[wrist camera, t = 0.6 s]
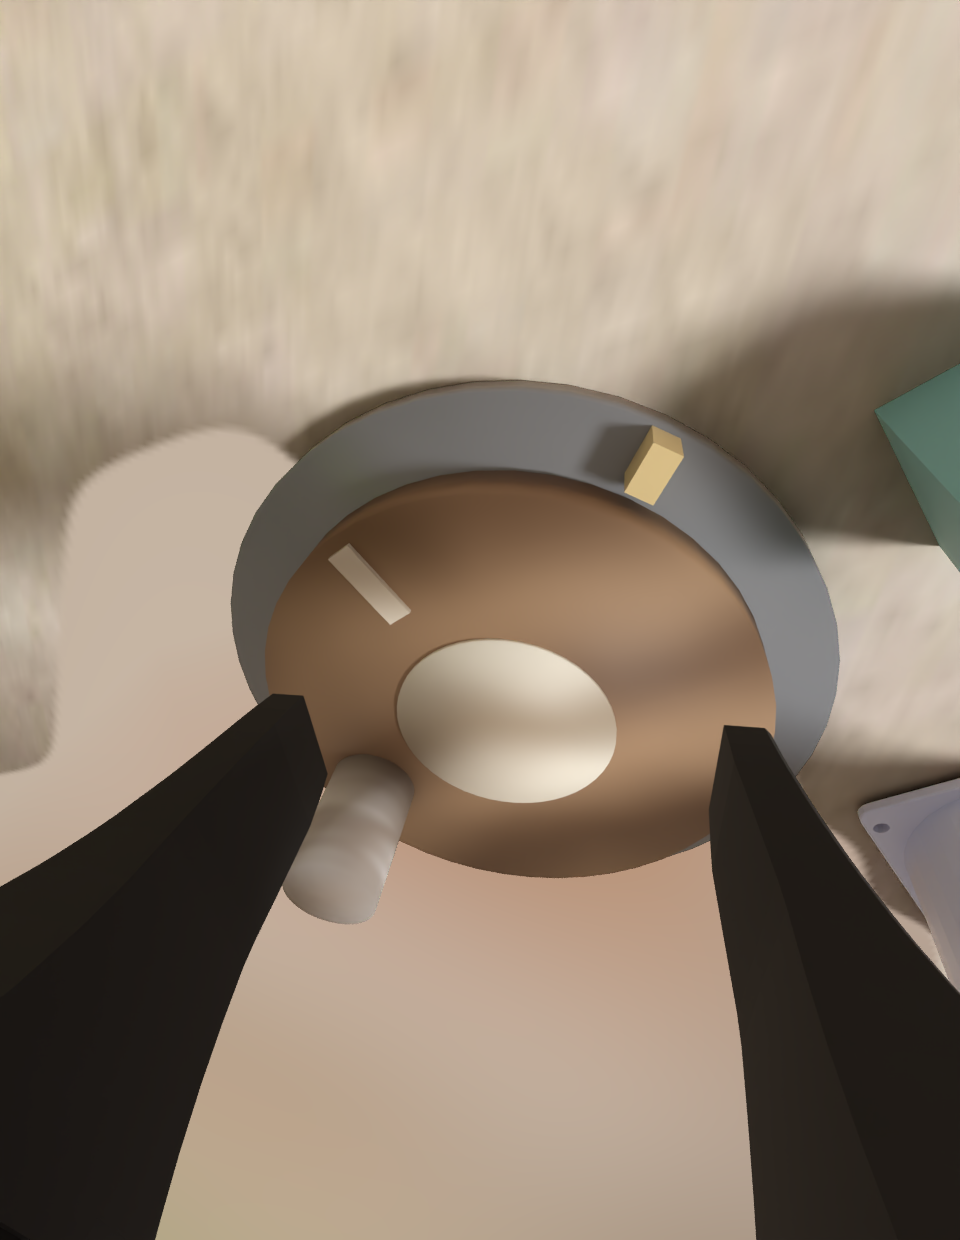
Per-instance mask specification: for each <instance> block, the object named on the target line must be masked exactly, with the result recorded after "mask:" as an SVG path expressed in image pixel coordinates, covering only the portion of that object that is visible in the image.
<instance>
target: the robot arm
mask: <svg viewBox="0 0 960 1240" xmlns="http://www.w3.org/2000/svg"><path fill="white" fill-rule="evenodd" d="M327 775H328V773H327V770H326V766H325V763H324V760H323V757H322V754H321V750H320V747H319V744H318V741H317V737H316V734H315V731H314V728H313V724H312V721H311V718H310V715H309V712H308V708H307V705H306V702H305V699H304V696H302V695H287V694H271V695H270V696H269V697H267V698H266V699H265V700H263V701H262V702H261V703H260V704H258V705H257V706H256V707H255V708H253V709H252V710H251V711H250V712H248V713H247V714H246V715H244V716H243V717H242V718H241V719H240V720H238V721H237V722H236V723H235V724H233V725H232V726H231V727H230V728H228V729H227V730H226V731H225V732H224V733H222V734H221V735H220V736H219V737H217V738H216V739H215V740H214V741H212V742H211V743H210V744H209V745H207V746H206V747H205V748H204V749H203V750H201V751H200V752H199V753H198V754H196V755H195V756H194V757H193V758H191V759H190V760H189V761H187V762H186V763H185V764H184V765H182V766H181V767H180V768H179V769H177V770H176V771H175V772H173V773H172V774H171V775H170V776H168V777H167V778H166V779H164V780H163V781H161V782H160V783H159V784H157V785H156V786H155V787H154V788H152V789H151V790H149V791H148V792H147V793H145V794H144V795H142V796H141V797H140V798H139V799H137V800H136V801H134V802H133V803H132V804H130V805H129V806H128V807H126V808H125V809H123V810H122V811H121V812H119V813H118V814H117V815H115V816H114V817H113V818H111V819H109V820H108V821H107V822H105V823H104V824H102V825H101V826H99V827H98V828H96V829H95V830H93V831H92V832H90V833H89V834H87V835H86V836H84V837H83V838H81V839H79V840H78V841H76V842H75V843H73V844H72V845H70V846H68V847H67V848H65V849H64V850H62V851H61V852H59V853H57V854H56V855H54V856H53V857H51V858H49V859H48V860H46V861H44V862H43V863H41V864H40V865H38V866H36V867H34V868H32V869H31V870H29V871H27V872H26V873H24V874H22V875H20V876H19V877H17V878H15V879H13V880H11V881H10V882H8V883H6V884H4V885H3V886H1V887H0V1240H155V1238H156V1234H157V1230H158V1227H159V1223H160V1219H161V1216H162V1212H163V1209H164V1205H165V1202H166V1198H167V1195H168V1191H169V1187H170V1184H171V1180H172V1177H173V1173H174V1170H175V1167H176V1163H177V1160H178V1156H179V1153H180V1149H181V1146H182V1143H183V1140H184V1137H185V1134H186V1131H187V1127H188V1124H189V1121H190V1118H191V1115H192V1111H193V1108H194V1105H195V1102H196V1099H197V1096H198V1092H199V1089H200V1086H201V1083H202V1080H203V1077H204V1074H205V1072H206V1068H207V1066H208V1063H209V1060H210V1057H211V1054H212V1051H213V1048H214V1046H215V1043H216V1040H217V1037H218V1034H219V1031H220V1028H221V1025H222V1023H223V1020H224V1017H225V1015H226V1012H227V1009H228V1006H229V1004H230V1001H231V999H232V996H233V993H234V991H235V988H236V985H237V983H238V980H239V977H240V974H241V972H242V969H243V966H244V964H245V962H246V960H247V958H248V955H249V953H250V951H251V948H252V946H253V944H254V942H255V940H256V937H257V935H258V933H259V931H260V929H261V927H262V925H263V923H264V921H265V919H266V917H267V915H268V913H269V911H270V909H271V907H272V905H273V903H274V901H275V899H276V896H277V895H278V892H279V890H280V888H281V886H282V884H283V882H284V880H285V878H286V876H287V874H288V872H289V870H290V868H291V866H292V864H293V862H294V860H295V858H296V855H297V853H298V851H299V849H300V847H301V845H302V843H303V841H304V839H305V837H306V834H307V832H308V830H309V828H310V826H311V823H312V820H313V817H314V814H315V812H316V809H317V806H318V803H319V800H320V797H321V794H322V790H323V787H324V784H325V781H326V778H327ZM857 813H858V816H859V819H860V822H861V824H862V825H863V827H864V828H865V830H866V831H867V833H868V834H869V836H870V837H871V839H872V840H873V842H874V843H875V844H876V846H877V847H878V849H879V850H880V852H881V853H882V855H883V856H884V858H885V859H886V861H887V862H888V863H889V865H890V866H891V868H892V869H893V871H894V872H895V874H896V875H897V877H898V878H899V880H900V881H901V882H902V884H903V885H904V887H905V888H906V890H907V891H908V893H909V894H910V896H911V897H912V899H913V900H914V901H915V903H916V904H917V906H918V907H919V909H920V910H921V912H922V913H923V915H924V916H925V919H926V921H927V924H928V926H929V929H930V932H931V934H932V937H933V939H934V942H935V945H936V947H937V950H938V953H939V955H940V958H941V960H942V963H943V966H944V968H945V971H946V973H947V976H948V979H949V981H950V982H949V981H948V979H947V978H946V977H945V976H944V975H943V974H942V973H941V971H940V970H939V969H938V968H937V967H936V966H935V965H934V963H933V962H932V961H931V960H930V959H929V958H928V956H927V955H926V954H925V953H924V952H923V951H922V950H921V948H920V947H919V946H918V945H917V944H916V943H915V941H914V940H913V939H912V938H911V936H910V935H909V934H908V933H907V932H906V931H905V929H904V928H903V927H902V926H901V924H900V923H899V922H898V921H897V919H896V918H895V917H894V916H893V914H892V913H891V912H890V911H889V909H888V908H887V907H886V906H885V904H884V903H883V902H882V900H881V899H880V898H879V896H878V895H877V894H876V893H875V891H874V890H873V889H872V887H871V886H870V885H869V883H868V882H867V881H866V880H865V878H864V877H863V876H862V874H861V873H860V871H859V870H858V869H857V867H856V866H855V865H854V863H853V862H852V861H851V859H850V858H849V856H848V855H847V854H846V852H845V851H844V849H843V848H842V846H841V845H840V844H839V842H838V841H837V839H836V838H835V836H834V835H833V833H832V832H831V831H830V829H829V828H828V826H827V825H826V823H825V822H824V820H823V819H822V818H821V816H820V815H819V813H818V811H817V810H816V808H815V807H814V805H813V804H812V802H811V801H810V799H809V798H808V796H807V794H806V793H805V791H804V790H803V788H802V786H801V785H800V783H799V782H798V780H797V778H796V777H795V775H794V774H793V772H792V770H791V769H790V767H789V765H788V763H787V762H786V760H785V758H784V757H783V755H782V753H781V751H780V750H779V748H778V746H777V744H776V742H775V741H774V739H773V737H772V735H771V734H770V733H769V732H768V731H767V730H766V729H765V728H760V727H745V726H731V725H724V727H723V732H722V738H721V743H720V749H719V755H718V760H717V766H716V771H715V777H714V783H713V788H712V794H711V799H710V805H709V826H710V843H711V859H712V872H713V878H714V884H715V890H716V896H717V901H718V907H719V913H720V919H721V925H722V930H723V936H724V941H725V947H726V953H727V959H728V964H729V970H730V976H731V981H732V987H733V993H734V998H735V1004H736V1009H737V1015H738V1023H739V1030H740V1038H741V1045H742V1056H743V1067H744V1079H745V1090H746V1103H747V1115H748V1127H749V1140H750V1155H751V1168H752V1182H753V1194H754V1210H755V1226H756V1240H960V778H958V779H954V780H951V781H947V782H943V783H940V784H936V785H932V786H929V787H925V788H921V789H918V790H914V791H910V792H907V793H903V794H900V795H896V796H892V797H889V798H885V799H881V800H878V801H874V802H870V803H867V804H865V805H862V806H861V807H860V808H859V809H858V812H857Z"/></svg>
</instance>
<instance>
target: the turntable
mask: <svg viewBox="0 0 960 1240" xmlns="http://www.w3.org/2000/svg"><path fill="white" fill-rule="evenodd" d="M265 671H266V680H267V685H268V690H269V695H271V694H287V695H302V696H304V699H305V702H306V705H307V708H308V712H309V715H310V718H311V721H312V724H313V728H314V731H315V734H316V737H317V741H318V744H319V747H320V750H321V754H322V757H323V760H324V763H325V766H326V770H327V773H328V775H327V778H326V781H325V784H324V787H325V788H326V789H325V791H324V794H323V796H322V798H321V800H320V802H319V804H318V806H317V809H316V812H315V814H314V817H313V820H312V823H311V826H310V828H309V830H308V832H307V834H306V837H305V839H304V841H303V843H302V845H301V847H300V849H299V851H298V853H297V855H296V858H295V860H294V862H293V864H292V866H291V868H290V870H289V872H288V874H287V876H286V878H285V880H284V882H283V884H282V886H283V890H284V892H285V894H286V895H287V897H288V898H289V899H290V900H291V901H292V902H293V903H294V904H295V905H296V906H297V907H299V908H300V909H302V910H303V911H305V912H306V913H308V914H310V915H312V916H314V917H317V918H319V919H322V920H326V921H329V922H334V923H339V924H358V923H362V922H365V921H367V920H369V919H370V918H371V917H372V916H373V915H374V913H375V911H376V908H377V904H378V902H379V899H380V896H381V893H382V890H383V887H384V883H385V881H386V877H387V875H388V872H389V868H390V866H391V863H392V860H393V857H394V854H395V851H396V848H397V845H398V842H399V841H401V842H403V843H406V844H408V845H410V846H412V847H415V848H417V849H419V850H421V851H423V852H426V853H428V854H431V855H434V856H437V857H440V858H442V859H445V860H448V861H451V862H454V863H458V864H462V865H465V866H469V867H473V868H476V869H481V870H486V871H491V872H497V873H502V874H509V875H518V876H526V877H546V878H568V877H586V876H594V875H602V874H610V873H615V872H619V871H623V870H628V869H633V868H636V867H640V866H642V865H646V864H649V863H652V862H655V861H658V860H661V859H664V858H666V857H668V856H670V855H672V854H675V853H677V852H679V851H681V850H684V849H686V848H687V847H689V846H691V845H692V844H694V843H696V842H697V841H699V840H701V839H702V838H704V837H706V836H707V835H709V834H710V826H709V805H710V799H711V794H712V788H713V783H714V777H715V771H716V766H717V760H718V755H719V749H720V743H721V738H722V732H723V727H724V725H731V726H745V727H760V728H765V729H766V730H767V731H768V732H769V733H770V734H771V735H772V737H773V739H774V734H775V721H776V701H775V694H774V687H773V681H772V675H771V672H770V668H769V664H768V660H767V657H766V653H765V649H764V646H763V642H762V639H761V636H760V634H759V631H758V628H757V625H756V622H755V619H754V616H753V614H752V613H751V611H750V609H749V607H748V605H747V603H746V602H745V600H744V598H743V596H742V594H741V592H740V590H739V589H738V588H737V586H736V585H735V584H734V582H733V581H732V580H731V578H730V577H729V576H728V575H727V573H726V572H725V571H724V569H723V568H722V567H721V566H720V564H719V563H718V562H717V561H716V560H715V559H714V558H713V557H712V556H711V555H710V554H709V553H708V552H707V551H705V550H704V549H703V548H702V547H701V546H700V545H699V544H698V543H697V542H696V541H695V540H694V539H693V538H692V537H690V536H689V535H687V534H686V533H685V532H683V531H682V530H680V529H679V528H678V527H676V526H675V525H674V524H672V523H671V522H669V521H668V520H667V519H665V518H664V517H662V516H660V515H659V514H657V513H655V512H653V511H651V510H649V509H647V508H645V507H644V506H642V505H640V504H638V503H636V502H634V501H632V500H631V499H629V498H626V497H623V496H621V495H618V494H616V493H613V492H610V491H608V490H605V489H602V488H600V487H597V486H595V485H592V484H588V483H584V482H580V481H576V480H572V479H568V478H563V477H559V476H555V475H549V474H541V473H532V472H524V471H515V470H491V471H469V472H462V473H454V474H447V475H439V476H435V477H432V478H428V479H425V480H421V481H417V482H414V483H410V484H406V485H403V486H401V487H399V488H397V489H394V490H392V491H390V492H387V493H385V494H383V495H381V496H378V497H376V498H374V499H372V500H371V501H369V502H367V503H366V504H364V505H363V506H361V507H359V508H358V509H356V510H355V511H353V512H352V513H350V514H348V515H347V516H346V517H345V518H344V519H343V520H341V521H340V522H339V523H338V524H337V525H336V526H335V527H333V528H332V529H331V530H330V531H329V532H328V533H327V534H326V535H325V536H324V537H323V538H322V540H321V541H320V542H319V543H318V544H317V546H316V547H315V548H314V549H313V551H312V552H311V553H310V554H309V556H308V557H307V558H306V559H305V561H304V562H303V563H302V564H301V566H300V567H299V568H298V570H297V571H296V572H295V573H294V575H293V576H292V577H291V578H290V580H289V581H288V583H287V585H286V587H285V589H284V590H283V592H282V594H281V596H280V598H279V599H278V601H277V603H276V606H275V609H274V612H273V615H272V618H271V621H270V624H269V627H268V633H267V640H266V647H265Z"/></svg>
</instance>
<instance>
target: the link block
mask: <svg viewBox="0 0 960 1240" xmlns="http://www.w3.org/2000/svg"><path fill="white" fill-rule="evenodd" d="M874 411H875V413H876V415H877V418H878V420H879V422H880V424H881V426H882V428H883V430H884V432H885V434H886V436H887V438H888V440H889V442H890V444H891V447H892V449H893V451H894V453H895V455H896V457H897V459H898V461H899V463H900V465H901V467H902V469H903V471H904V473H905V476H906V478H907V480H908V482H909V484H910V486H911V488H912V490H913V492H914V494H915V496H916V498H917V500H918V502H919V505H920V507H921V509H922V511H923V513H924V515H925V517H926V519H927V521H928V523H929V525H930V527H931V529H932V531H933V534H934V536H935V538H936V540H937V542H938V544H939V546H940V547H941V549H942V550H943V551H944V552H945V554H946V555H947V556H948V558H949V559H950V560H951V561H952V563H953V564H954V565H955V567H956V568H957V569H958V571H959V572H960V364H958V365H956V366H955V367H953V368H951V369H949V370H947V371H945V372H944V373H942V374H940V375H938V376H936V377H934V378H933V379H931V380H929V381H927V382H925V383H923V384H922V385H920V386H918V387H916V388H914V389H912V390H911V391H909V392H907V393H905V394H903V395H901V396H900V397H898V398H896V399H894V400H892V401H890V402H889V403H887V404H885V405H883V406H881V407H879V408H878V409H876V410H874Z"/></svg>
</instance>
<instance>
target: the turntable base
mask: <svg viewBox="0 0 960 1240" xmlns="http://www.w3.org/2000/svg"><path fill="white" fill-rule="evenodd" d="M491 470H515V471H524V472H532V473H541V474H549V475H555V476H559V477H563V478H568V479H572V480H576V481H580V482H584V483H588V484H592V485H595V486H597V487H600V488H602V489H605V490H608V491H610V492H613V493H616V494H618V495H621V496H623V497H626V498H629V499H631V500H632V501H634V502H636V503H638V504H640V505H642V506H644V507H645V508H647V509H649V510H651V511H653V512H655V513H657V514H659V515H660V516H662V517H664V518H665V519H667V520H668V521H669V522H671V523H672V524H674V525H675V526H676V527H678V528H679V529H680V530H682V531H683V532H685V533H686V534H687V535H689V536H690V537H692V538H693V539H694V540H695V541H696V542H697V543H698V544H699V545H700V546H701V547H702V548H703V549H704V550H705V551H707V552H708V553H709V554H710V555H711V556H712V557H713V558H714V559H715V560H716V561H717V562H718V563H719V564H720V566H721V567H722V568H723V569H724V571H725V572H726V573H727V575H728V576H729V577H730V578H731V580H732V581H733V582H734V584H735V585H736V586H737V588H738V589H739V590H740V592H741V594H742V596H743V598H744V600H745V602H746V603H747V605H748V607H749V609H750V611H751V613H752V614H753V616H754V619H755V622H756V625H757V628H758V631H759V634H760V636H761V639H762V642H763V646H764V649H765V653H766V657H767V660H768V664H769V668H770V672H771V675H772V681H773V687H774V694H775V701H776V721H775V734H774V741H775V742H776V744H777V746H778V748H779V750H780V751H781V753H782V755H783V757H784V758H785V760H786V762H787V763H788V765H789V767H790V769H791V770H792V772H793V774H794V775H795V777H796V776H797V774H798V773H799V771H800V770H801V769H802V767H803V766H804V765H805V763H806V762H807V760H808V759H809V758H810V756H811V755H812V753H813V751H814V749H815V747H816V746H817V744H818V742H819V740H820V738H821V736H822V734H823V732H824V730H825V728H826V726H827V723H828V719H829V716H830V713H831V709H832V706H833V703H834V699H835V696H836V690H837V681H838V672H839V663H840V657H839V644H838V631H837V623H836V619H835V616H834V612H833V608H832V604H831V601H830V597H829V593H828V590H827V587H826V585H825V582H824V580H823V578H822V576H821V573H820V571H819V569H818V567H817V565H816V563H815V560H814V558H813V556H812V554H811V552H810V550H809V548H808V546H807V544H806V541H805V539H804V537H803V535H802V533H801V532H800V530H799V529H798V528H797V526H796V525H795V523H794V522H793V520H792V519H791V518H790V516H789V515H788V513H787V512H786V510H785V509H784V508H783V506H782V505H781V503H780V502H779V500H778V499H777V498H776V497H775V496H774V495H773V494H772V493H771V492H770V491H769V490H768V489H767V488H766V487H765V486H764V485H763V484H762V483H761V482H760V480H759V479H758V478H757V477H756V476H755V475H754V474H753V473H752V472H751V471H750V470H749V469H748V468H747V467H746V466H744V465H743V464H742V463H740V462H739V461H738V460H736V459H735V458H734V457H733V456H731V455H730V454H729V453H727V452H726V451H725V450H723V449H722V448H721V447H719V446H718V445H717V444H715V443H714V442H713V441H712V440H710V439H709V438H707V437H705V436H703V435H701V434H700V433H698V432H696V431H694V430H692V429H691V428H689V427H687V426H685V425H684V424H682V423H680V422H678V421H676V420H675V419H673V418H671V417H669V416H667V415H665V414H662V413H660V412H657V411H655V410H652V409H650V408H647V407H644V406H642V405H639V404H637V403H634V402H631V401H629V400H626V399H624V398H621V397H618V396H613V395H609V394H605V393H601V392H597V391H592V390H588V389H584V388H580V387H576V386H572V385H563V384H553V383H543V382H533V381H523V380H516V381H487V382H470V383H464V384H458V385H452V386H447V387H441V388H435V389H429V390H425V391H422V392H419V393H416V394H413V395H410V396H407V397H404V398H400V399H397V400H394V401H391V402H388V403H385V404H383V405H381V406H379V407H377V408H375V409H373V410H371V411H369V412H367V413H365V414H363V415H361V416H359V417H357V418H355V419H353V420H351V421H349V422H347V423H346V424H344V425H343V426H341V427H340V428H339V429H337V430H336V431H335V432H333V433H332V434H330V435H329V436H328V437H326V438H325V439H323V440H322V441H321V442H319V443H318V444H316V445H315V446H314V447H313V448H312V449H311V450H310V451H309V452H308V453H307V454H306V455H305V456H304V457H302V458H301V459H300V460H299V461H298V462H297V463H296V464H295V465H294V466H293V468H291V469H290V470H289V472H288V473H287V474H286V475H285V476H284V477H283V478H282V479H281V480H280V481H279V482H278V483H277V484H276V485H275V486H274V488H273V489H272V490H271V492H270V493H269V495H268V496H267V497H266V499H265V500H264V502H263V503H262V505H261V506H260V508H259V509H258V510H257V512H256V513H255V515H254V517H253V520H252V522H251V524H250V526H249V528H248V530H247V533H246V535H245V537H244V539H243V541H242V544H241V547H240V552H239V555H238V559H237V562H236V566H235V570H234V575H233V586H232V597H231V612H232V626H233V635H234V639H235V644H236V649H237V653H238V658H239V662H240V664H241V667H242V670H243V672H244V675H245V678H246V680H247V683H248V686H249V688H250V690H251V692H252V694H253V696H254V698H255V700H256V702H257V704H260V703H261V702H262V701H263V700H265V699H266V698H267V697H269V696H270V695H269V690H268V685H267V680H266V671H265V647H266V640H267V633H268V627H269V624H270V621H271V618H272V615H273V612H274V609H275V606H276V603H277V601H278V599H279V598H280V596H281V594H282V592H283V590H284V589H285V587H286V585H287V583H288V581H289V580H290V578H291V577H292V576H293V575H294V573H295V572H296V571H297V570H298V568H299V567H300V566H301V564H302V563H303V562H304V561H305V559H306V558H307V557H308V556H309V554H310V553H311V552H312V551H313V549H314V548H315V547H316V546H317V544H318V543H319V542H320V541H321V540H322V538H323V537H324V536H325V535H326V534H327V533H328V532H329V531H330V530H331V529H332V528H333V527H335V526H336V525H337V524H338V523H339V522H340V521H341V520H343V519H344V518H345V517H346V516H347V515H348V514H350V513H352V512H353V511H355V510H356V509H358V508H359V507H361V506H363V505H364V504H366V503H367V502H369V501H371V500H372V499H374V498H376V497H378V496H381V495H383V494H385V493H387V492H390V491H392V490H394V489H397V488H399V487H401V486H403V485H406V484H410V483H414V482H417V481H421V480H425V479H428V478H432V477H435V476H439V475H447V474H454V473H462V472H469V471H491ZM708 841H710V834H709V835H707V836H706V837H704V838H702V839H701V840H699V841H697V842H696V843H694V844H692V845H691V846H689V847H687V848H686V849H684V850H681V851H679V852H677V853H681V852H684V851H687V850H690V849H693V848H695V847H697V846H699V845H702V844H704V843H706V842H708ZM677 853H675V854H677ZM675 854H672V855H675ZM672 855H670V856H672ZM668 857H669V856H668Z"/></svg>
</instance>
